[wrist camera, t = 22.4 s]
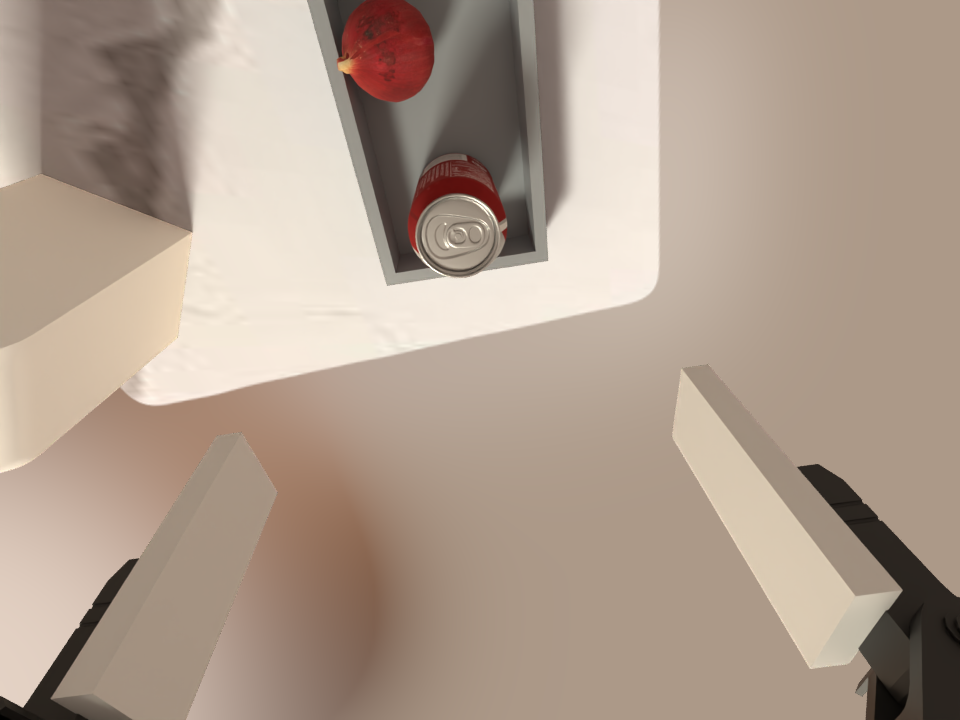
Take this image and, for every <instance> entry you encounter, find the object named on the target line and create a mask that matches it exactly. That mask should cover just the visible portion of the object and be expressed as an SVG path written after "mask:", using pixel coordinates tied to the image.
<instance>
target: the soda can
mask: <svg viewBox="0 0 960 720" xmlns="http://www.w3.org/2000/svg"><path fill="white" fill-rule="evenodd" d="M408 234H409V239H410V242H411V245H412V247H413V249H414V251H415V253H416V254H417V256H418V257H419V258H420V259H421V260H422V262H423V263H425V264H426V265H427V266H428V267H430V268H431V269H433V270H434V271H436V272H437V273H439V274H441V275H444V276H447V277H452V278H465V277H470V276H473V275H475V274H478V273H479V272H481V271H483V270H484V269H485V268H486V267H488V266H489V265H490V264H491V263H492V262H493V261H494V260H495V259H496V258H497V257H498V255H499V254H500V252H501V250H502V248H503V246H504V243H505V240H506V236H507V219H506V214H505V211H504V208H503V205H502V203H501V200H500V197H499V195H498V192H497V189H496V187H495V184H494V181H493V179H492V176H491V174H490V173H489V171H488V170H487V168H486V167H485V166H484V165H483V164H482V163H481V162H480V161H478V160H477V159H475V158H474V157H472V156H469V155H466V154H462V153H448V154H444V155H442V156H439V157H437V158H436V159H434V160H433V161H431V162H430V163H429V164H428V165H427V166H426V167H425V169H424V170H423V172H422V173H421V175H420V178H419V180H418V184H417V187H416V191H415V195H414V198H413V202H412V205H411V209H410V213H409V217H408Z"/></svg>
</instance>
